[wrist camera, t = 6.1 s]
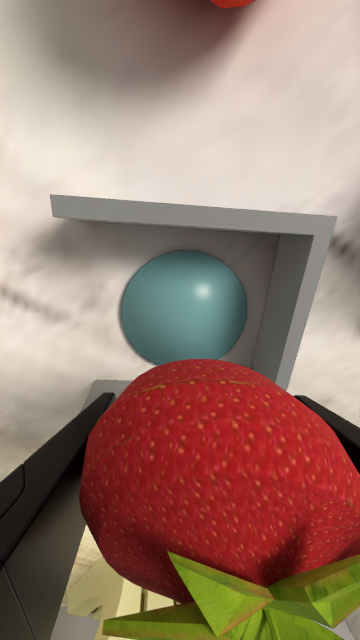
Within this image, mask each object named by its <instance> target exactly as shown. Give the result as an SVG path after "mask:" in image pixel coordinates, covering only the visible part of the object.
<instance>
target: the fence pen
mask: <svg viewBox="0 0 360 640" xmlns="http://www.w3.org/2000/svg"><path fill="white" fill-rule="evenodd" d="M50 199H51V207H52V214H53V217H58V218H65V219H71V220H78V221H89V222H103V223H118V224H132V225H146V226H161V227H175V228H190V229H204V230H219V231H233V232H248V233H262V234H277V235H280V238H279V242H278V247H277V252H276V257H275V261H274V266H273V271H272V275H271V280H270V285H269V290H268V294H267V299H266V304H265V308H264V313H263V318H262V323H261V327H260V332H259V337H258V341H257V346H256V351H255V356H254V360H253V365H252V370H254V371H256V372H258V373H260V374H262V375H264V376H266V377H267V378H268V379H270V380H271V381H273V382H274V383H275V384H277V385H278V386H279V387H281V388H282V389H284V390H285V391H287V387H288V384H289V380H290V377H291V374H292V370H293V367H294V363H295V360H296V356H297V353H298V350H299V346H300V343H301V339H302V336H303V332H304V329H305V326H306V322H307V319H308V315H309V312H310V309H311V305H312V302H313V298H314V295H315V291H316V288H317V285H318V281H319V278H320V274H321V271H322V267H323V264H324V261H325V257H326V254H327V250H328V247H329V243H330V240H331V237H332V233H333V230H334V226H335V223H336V219H337V216H324V215H311V214H298V213H285V212H272V211H259V210H246V209H233V208H220V207H207V206H194V205H181V204H168V203H155V202H142V201H129V200H116V199H103V198H90V197H77V196H64V195H51V194H50ZM246 315H247V302H246V296H245V293H244V290H243V287H242V285H241V283H240V281H239V279H238V278H237V276H236V275H235V274H234V273H233V271H232V270H231V269H230V268H229V267H228V266H226V265H225V264H224V263H223V262H221V261H219V260H218V259H216V258H214V257H212V256H209V255H207V254H204V253H200V252H194V251H177V252H171V253H167V254H164V255H161V256H159V257H157V258H155V259H153V260H151V261H150V262H148V263H147V264H145V265H144V266H143V267H142V268H141V269H140V270H139V271H138V272H137V273H136V274H135V275H134V277H133V278H132V280H131V281H130V282H129V284H128V286H127V288H126V290H125V294H124V297H123V301H122V308H121V316H122V323H123V327H124V331H125V333H126V335H127V337H128V339H129V341H130V343H131V344H132V345H133V347H134V348H135V349H136V350H137V351H138V352H139V353H140V354H141V355H142V356H143V357H145V358H146V359H148V360H149V361H151V362H153V363H155V364H157V365H159V366H160V365H163V364H166V363H169V362H173V361H180V360H187V359H213V360H218V359H219V358H221V357H222V356H224V355H225V354H226V353H227V352H228V351H229V350H230V349H231V348H232V347H233V346H234V344H235V343H236V342H237V340H238V339H239V337H240V335H241V333H242V331H243V328H244V325H245V321H246ZM132 382H133V381H107V380H96V381H95V383H94V385H93V388H92V390H91V392H90V394H89V396H88V398H87V400H86V402H85V404H84V406H83V408H82V410H81V412H82V411H83V410H84V409H85V408H86V407H87V406H89V405H90V404H91V403H92V402H93V401H94V400H95V399H97V398H98V397H99V396H100V395H101V394H102V393H104V392H114V393H115V396H116V399H117V398H118V397H119V395H120V394H121V393H122V392H123V391H124V390H125V389H126V387H127V386H128V385H129V384H130V383H132ZM81 412H80V413H81Z"/></svg>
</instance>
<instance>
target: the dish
mask: <svg viewBox="0 0 360 640" xmlns="http://www.w3.org/2000/svg"><path fill="white" fill-rule="evenodd" d="M345 621H346V624H347V625H348V628H349V630H350V632H351V633H352V634H353V636H354V638H355V640H360V606H359V607H358V608H357V609H356V610H355V611H354V612H352V613H351V614H350V615H349V616H348V617H347V618H346V619H345Z"/></svg>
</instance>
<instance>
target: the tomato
mask: <svg viewBox="0 0 360 640" xmlns="http://www.w3.org/2000/svg"><path fill="white" fill-rule="evenodd" d="M210 1H212V2H213V3H214V4H216V5H217V6H218V7H220V8H230V7H244V6H246V5H248V4H250V3H251V2H253V1H255V0H210Z"/></svg>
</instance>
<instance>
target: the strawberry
mask: <svg viewBox="0 0 360 640" xmlns="http://www.w3.org/2000/svg"><path fill="white" fill-rule="evenodd" d="M79 502H80V508H81V514H82V516H83V518H84V520H85V522H86V524H87V526H88V528H89V530H90V532H91V534H92V536H93V538H94V540H95V542H96V544H97V546H98V548H99V550H100V552H101V553H102V555H103V557H104V559H105V561H106V562H107V564H108V565H109V566H110V567H111V568H112V569H113V570H114V571H116V572H117V573H118V574H119V575H120V576H122V577H123V578H125V579H127V580H128V581H130V582H131V583H133V584H135V585H137V586H140V587H142V588H144V589H146V590H149V591H151V592H154V593H156V594H159V595H162V596H164V597H167V598H170V599H172V600H174V601H176V602H178V603H180V604H178V605H173V606H168V607H163V608H159V609H154V610H149V611H144V612H139V613H134V614H130V615H125V616H120V617H115V618H110V619H105V620H104V622H103V630H102V635H105V636H113V637H120V638H127V639H135V640H343V639H342V638H341V637H339V636H338V635H336V634H335V633H334V632H332V631H330V630H328V629H327V628H325V627H323V626H321V625H320V624H318V623H321V624H323V625H325V626H328V627H330V628H334V627H336V626H337V625H338V624H339V623H340V622H341V621H343V620H344V619H346V618H347V617H348V616H349V615H350V614H351V613H352V612H354V611H355V610H356V609H357V608H358V607H359V606H360V475H359V473H358V471H357V470H356V468H355V466H354V464H353V463H352V461H351V459H350V458H349V456H348V454H347V453H346V451H345V449H344V448H343V446H342V444H341V442H340V441H339V439H338V437H337V436H336V434H335V432H334V431H333V430H332V429H331V428H330V426H329V425H328V424H327V423H326V422H325V421H324V420H323V419H322V418H321V417H320V416H319V415H318V414H316V413H315V412H314V411H312V410H311V409H310V408H308V407H307V406H306V405H304V404H303V403H302V402H300V401H299V400H297V399H296V398H295V397H293V396H292V395H291V394H289V393H288V392H286V391H285V390H284V389H282V388H281V387H279V386H278V385H277V384H275V383H274V382H273V381H271V380H270V379H268V378H267V377H266V376H264V375H262V374H260V373H258V372H256V371H254V370H252V369H250V368H248V367H244V366H241V365H238V364H234V363H231V362H226V361H220V360H213V359H187V360H180V361H173V362H169V363H166V364H163V365H160V366H157V367H154V368H152V369H150V370H148V371H147V372H145V373H143V374H141V375H139V376H138V377H137V378H136V379H135V380H134V381H133V382H132V383H130V384H129V385H128V386H127V387H126V389H125V390H124V391H123V392H122V393H121V394H120V395H119V397H118V398H117V399H116V400H115V401H114V402H113V403H112V404H111V406H110V407H109V408H108V409H107V410H106V411H105V412H104V414H103V415H102V416H101V417H100V418H99V419H98V421H97V423H96V424H95V426H94V427H93V429H92V431H91V432H90V434H89V437H88V442H87V446H86V451H85V457H84V464H83V471H82V479H81V486H80V493H79ZM312 620H314V621H316V622H318V623H316V622H314V621H312Z"/></svg>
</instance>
